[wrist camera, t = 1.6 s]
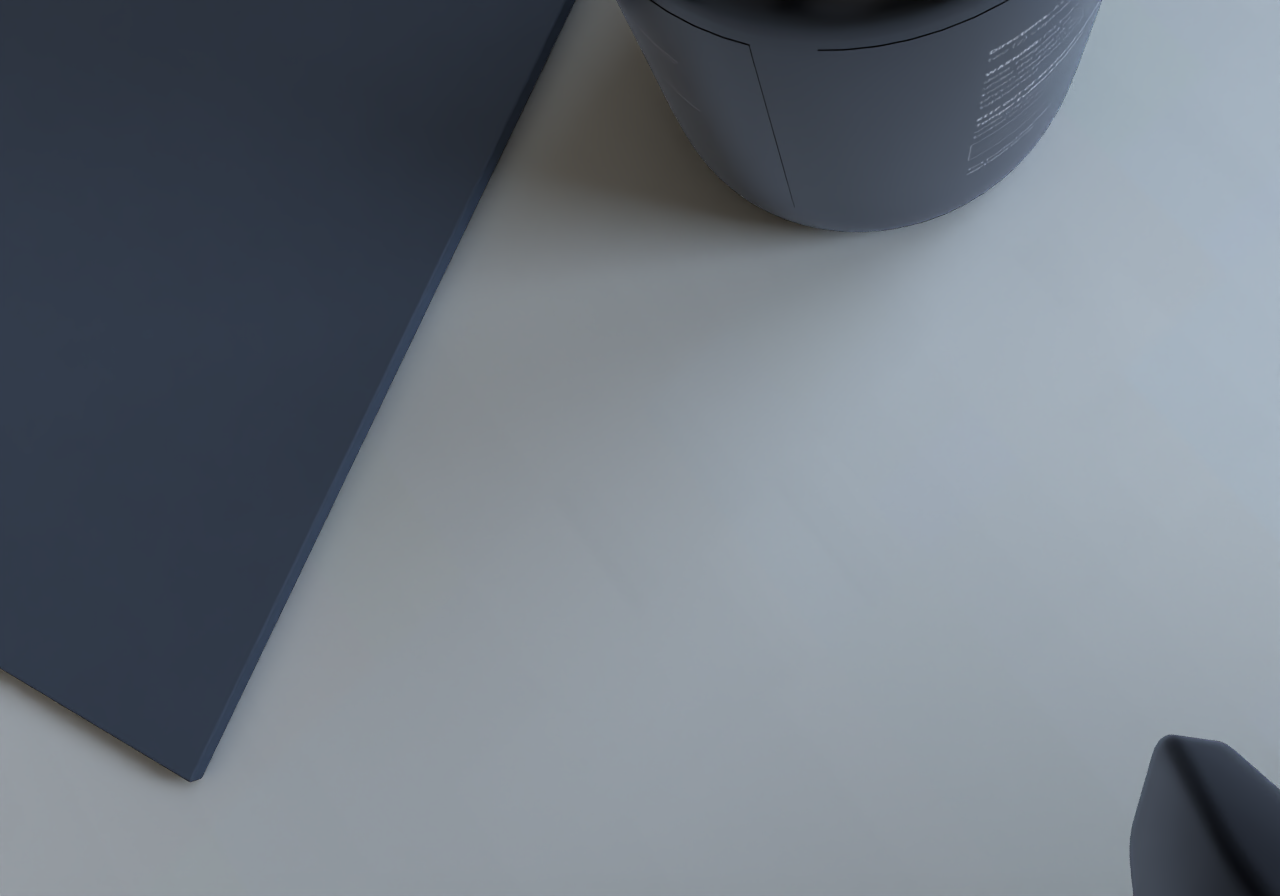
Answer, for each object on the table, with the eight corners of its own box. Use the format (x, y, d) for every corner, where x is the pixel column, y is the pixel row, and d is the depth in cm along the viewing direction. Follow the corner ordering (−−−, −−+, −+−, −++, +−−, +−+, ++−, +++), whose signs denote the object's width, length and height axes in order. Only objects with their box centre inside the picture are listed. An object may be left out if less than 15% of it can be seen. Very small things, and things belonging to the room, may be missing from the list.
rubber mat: (202, 778, 22) (189, 783, 21) (-285, 488, 24) (-304, 487, 24) (688, -234, 22) (685, -249, 21) (148, -423, 24) (137, -439, 24)
